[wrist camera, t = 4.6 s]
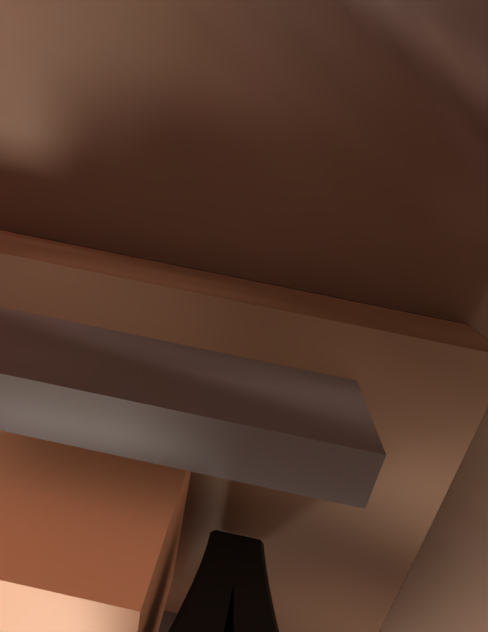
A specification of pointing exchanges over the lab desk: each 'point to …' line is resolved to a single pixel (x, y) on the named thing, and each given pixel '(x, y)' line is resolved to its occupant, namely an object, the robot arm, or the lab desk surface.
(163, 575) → the terracotta block
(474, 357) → the tunnel deck
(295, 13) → the lab desk surface
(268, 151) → the lab desk surface
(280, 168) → the lab desk surface
